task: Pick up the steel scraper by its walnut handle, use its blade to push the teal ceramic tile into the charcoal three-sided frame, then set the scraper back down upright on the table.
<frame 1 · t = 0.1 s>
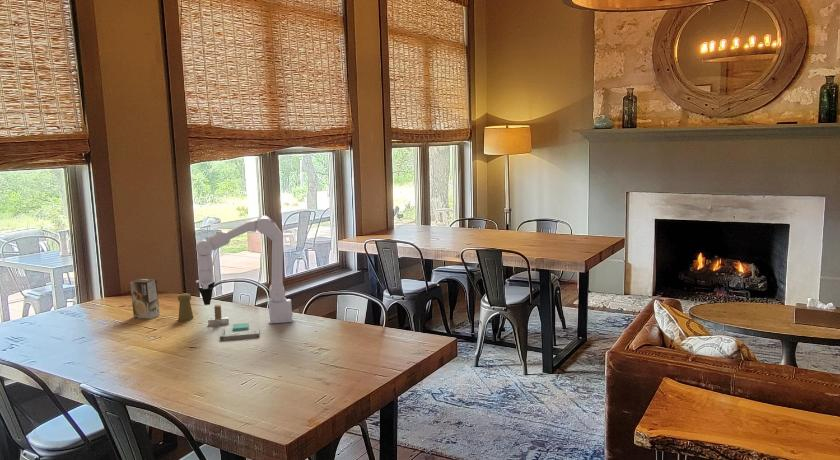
hand: (207, 302, 257), 10 cm above the table, tool pointing down, fingers open, 7 cm apart
tile: (240, 329, 256), on the table
cork: (186, 319, 269), on the table
coffee box: (146, 316, 274), on the table
frame: (240, 334, 248), on the table
scraper: (218, 324, 261), on the table
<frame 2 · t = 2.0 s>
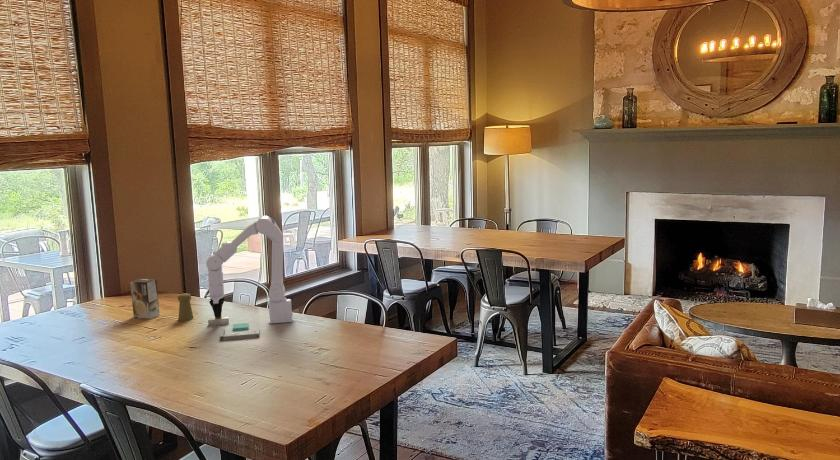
hand: (218, 316, 261), 3 cm above the table, tool pointing down, fingers closed on scraper, 2 cm apart
scraper: (218, 324, 261), on the table, touching gripper
everything else where it was.
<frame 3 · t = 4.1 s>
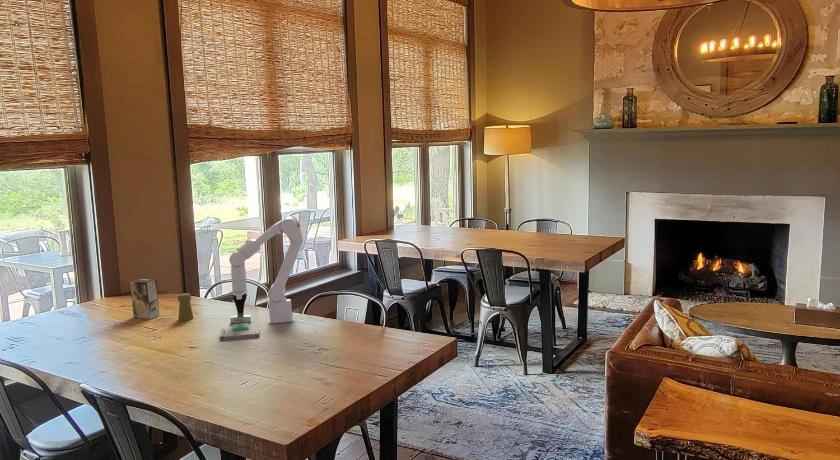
hand: (240, 312, 263), 4 cm above the table, tool pointing down, fingers closed on scraper, 2 cm apart
scraper: (240, 322, 263), on the table, touching gripper
everything else where it was.
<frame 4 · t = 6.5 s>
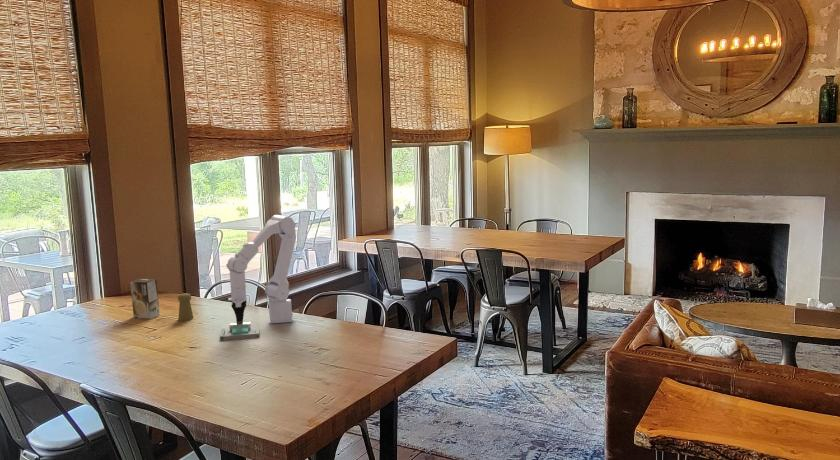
hand: (240, 320, 253), 4 cm above the table, tool pointing down, fingers closed on scraper, 2 cm apart
tile: (240, 333, 250), on the table, touching scraper
scraper: (240, 329, 254), on the table, touching gripper, tile
everything else where it was.
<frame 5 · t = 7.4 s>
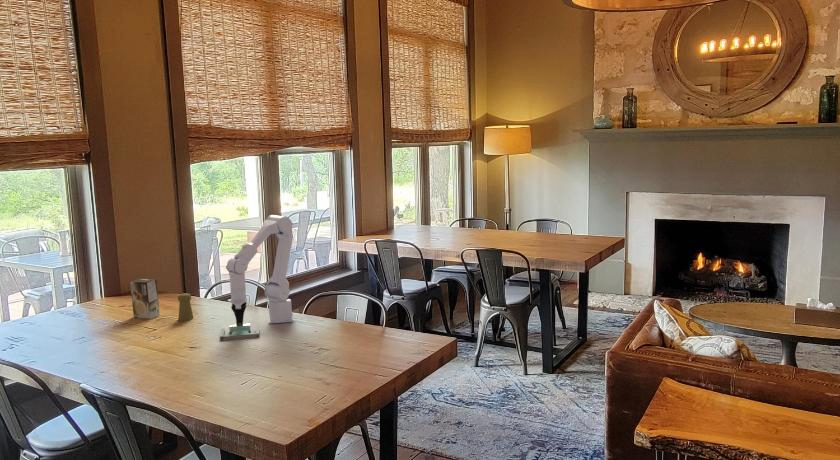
hand: (240, 321, 251), 4 cm above the table, tool pointing down, fingers closed on scraper, 2 cm apart
tile: (240, 335, 248), on the table
scraper: (240, 331, 251), on the table, touching gripper
everything else where it was.
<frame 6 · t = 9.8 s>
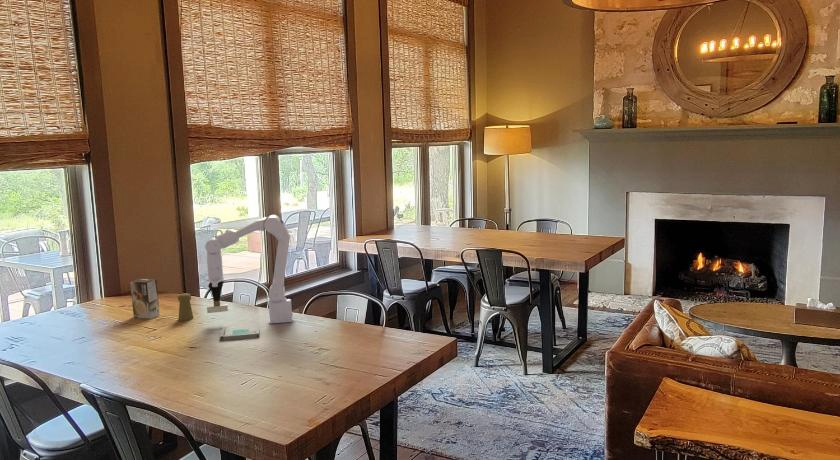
hand: (217, 300, 260), 10 cm above the table, tool pointing down, fingers closed on scraper, 2 cm apart
scraper: (217, 311, 260), point 5 cm above the table, touching gripper
everything else where it was.
when the fingers open (4 cm above the table, at t = 11.3 s): scraper stays where it is, on the table.
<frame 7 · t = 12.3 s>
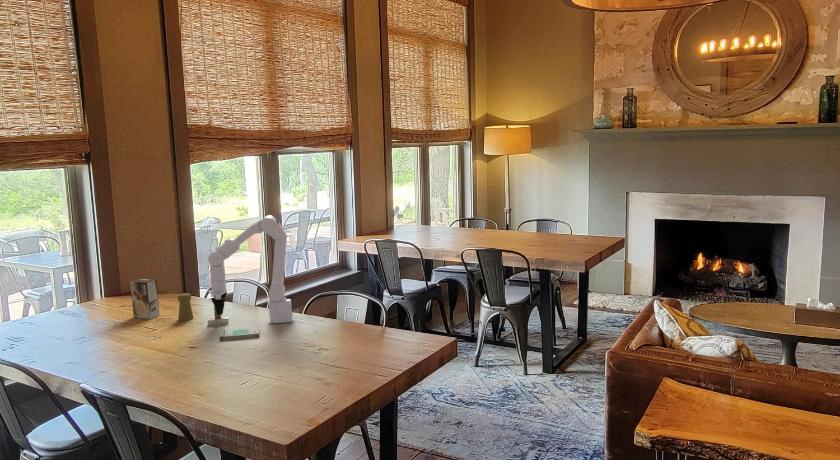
hand: (220, 312, 261), 5 cm above the table, tool pointing down, fingers open, 7 cm apart
scraper: (218, 324, 261), on the table
everything else where it was.
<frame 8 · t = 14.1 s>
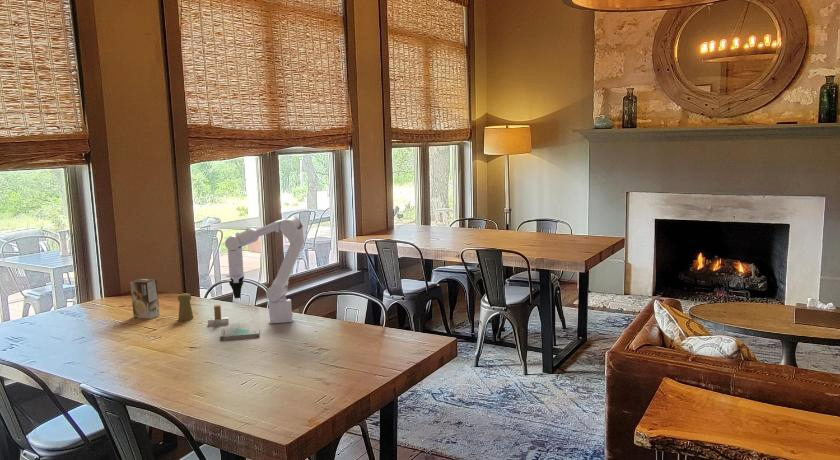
hand: (237, 295, 265), 10 cm above the table, tool pointing down, fingers open, 7 cm apart
nothing on the table moved.
at the end: tile inside the target area on the frame (0.6 cm from its centre), point -0.5 cm above the frame's base; scraper touching table; scraper tilted 0° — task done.
